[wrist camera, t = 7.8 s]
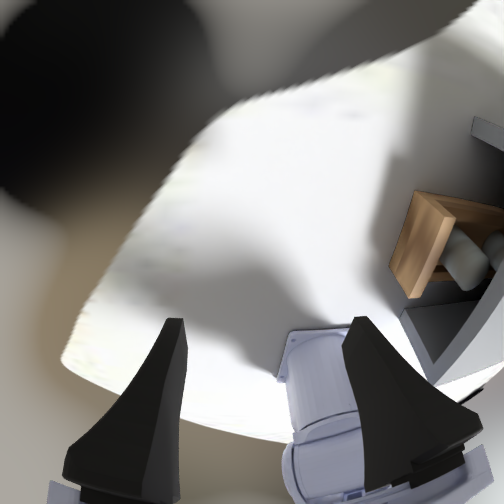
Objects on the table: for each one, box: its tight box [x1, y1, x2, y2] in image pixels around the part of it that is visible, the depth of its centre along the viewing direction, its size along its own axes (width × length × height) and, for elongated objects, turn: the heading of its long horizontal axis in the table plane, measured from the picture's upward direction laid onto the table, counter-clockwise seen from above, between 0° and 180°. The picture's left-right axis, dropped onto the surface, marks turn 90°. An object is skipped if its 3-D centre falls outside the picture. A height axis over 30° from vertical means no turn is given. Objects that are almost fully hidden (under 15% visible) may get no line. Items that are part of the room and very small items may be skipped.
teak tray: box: [389, 191, 504, 299], centre depth 19 cm, size 7×16×6 cm, turn 86°
